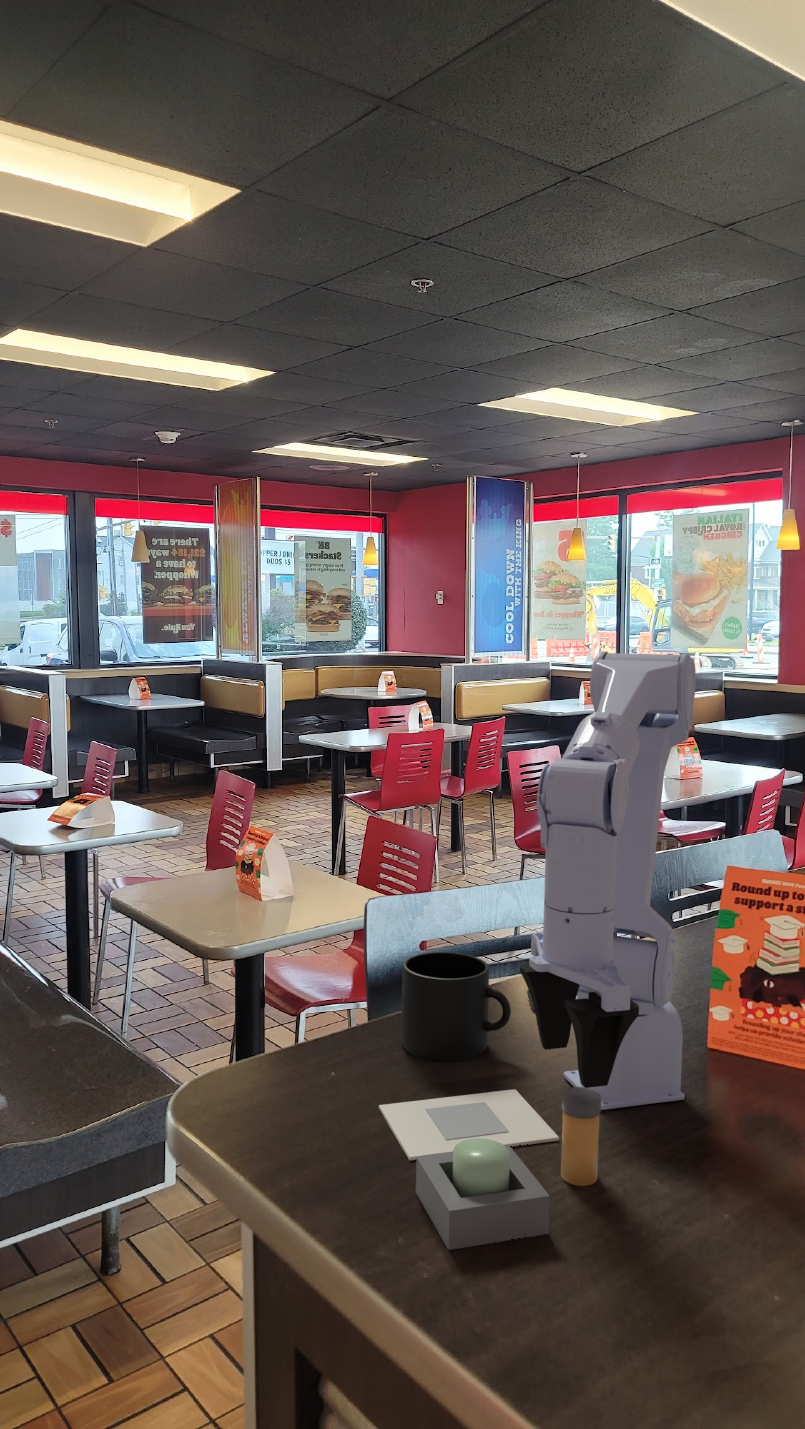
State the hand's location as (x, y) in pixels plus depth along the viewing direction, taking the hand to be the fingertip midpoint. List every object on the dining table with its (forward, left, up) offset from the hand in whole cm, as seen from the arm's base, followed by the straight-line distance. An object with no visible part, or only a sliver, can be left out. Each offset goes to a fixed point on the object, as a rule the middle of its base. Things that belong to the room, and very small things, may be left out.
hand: (573, 1065), depth 86 cm
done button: (+9, +4, -8) cm, 13 cm away
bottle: (-1, +1, -9) cm, 9 cm away
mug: (0, -27, -10) cm, 29 cm away
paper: (+5, -10, -9) cm, 15 cm away
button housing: (+9, +4, -9) cm, 14 cm away
